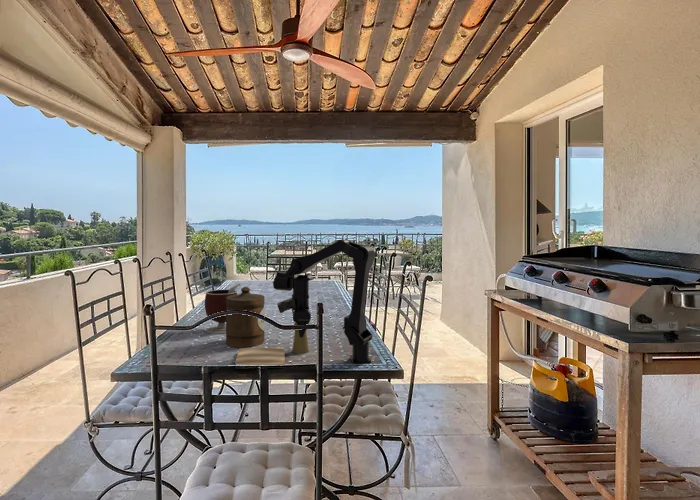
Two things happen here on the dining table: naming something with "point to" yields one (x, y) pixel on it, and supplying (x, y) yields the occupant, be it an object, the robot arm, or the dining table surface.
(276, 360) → the serving board
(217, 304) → the mate gourd
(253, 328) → the wooden container
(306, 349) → the cork
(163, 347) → the dining table surface
